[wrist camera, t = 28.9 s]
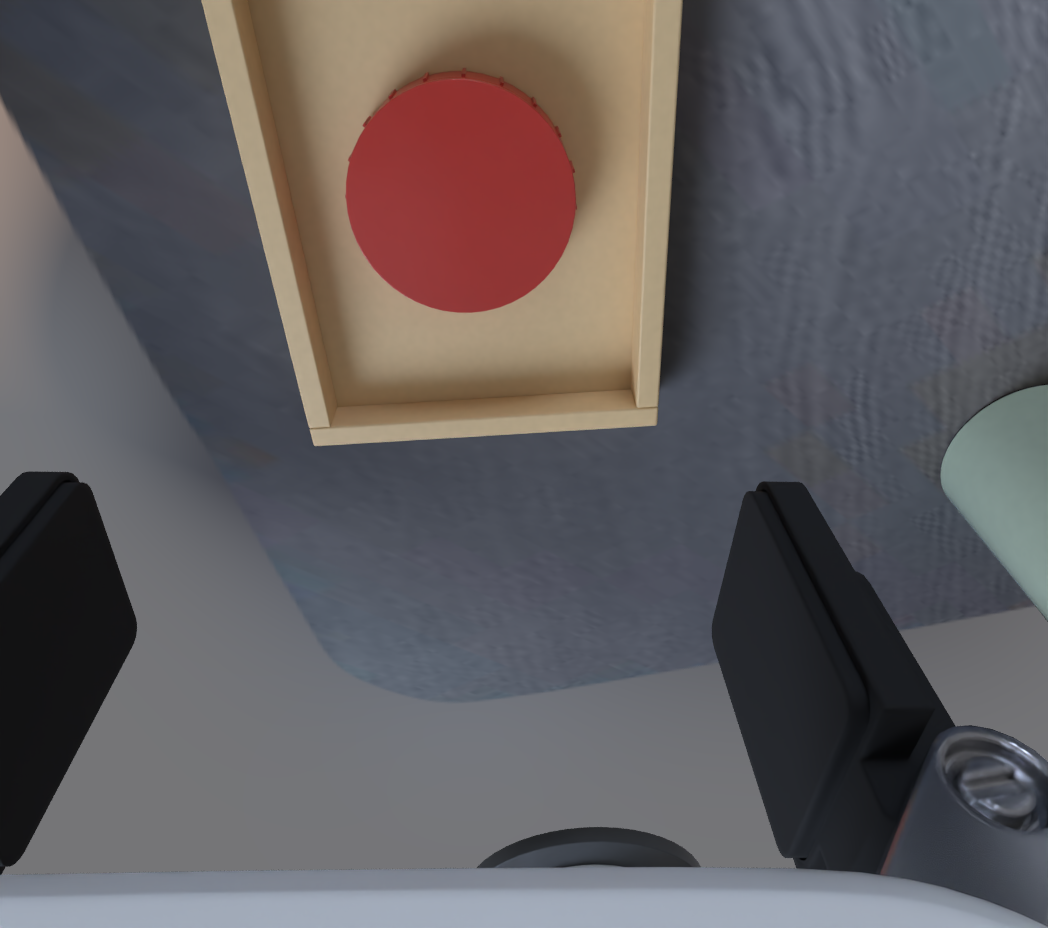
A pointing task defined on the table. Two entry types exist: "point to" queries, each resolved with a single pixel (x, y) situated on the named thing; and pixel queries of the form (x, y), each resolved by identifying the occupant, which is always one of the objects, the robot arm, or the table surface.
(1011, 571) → the jam jar
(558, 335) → the tray
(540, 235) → the jar lid
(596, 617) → the table surface
